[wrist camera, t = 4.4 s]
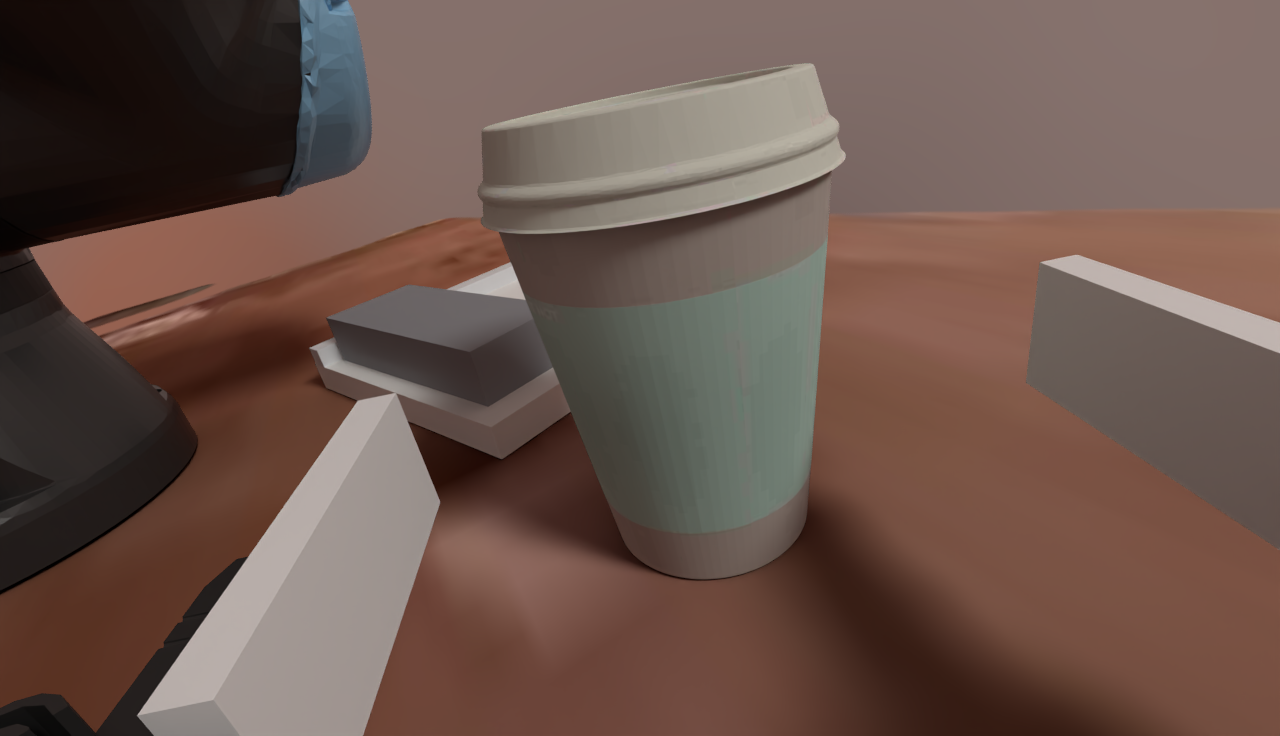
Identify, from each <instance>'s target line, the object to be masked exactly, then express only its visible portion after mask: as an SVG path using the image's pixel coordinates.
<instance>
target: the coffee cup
mask: <svg viewBox="0 0 1280 736" xmlns="http://www.w3.org/2000/svg"><path fill="white" fill-rule="evenodd" d="M838 131H839V123H838V121H837V120H836V119H834V118H833V117H832V116H830V114H829V112H828V109H827V106H826V103H825V99H824V96H823V93H822V90H821V86H820V83H819V80H818V77H817V73H816V70H815V67H814V65H813V64H809V63H807V64H796V65H789V66H782V67H775V68H769V69H763V70H757V71H751V72H745V73H740V74H733V75H727V76H722V77H716V78H711V79H705V80H700V81H694V82H689V83H684V84H678V85H673V86H668V87H663V88H658V89H652V90H648V91H642V92H638V93H632V94H627V95H623V96H618V97H612V98H608V99H603V100H598V101H593V102H588V103H584V104H579V105H574V106H570V107H565V108H560V109H556V110H552V111H547V112H543V113H538V114H534V115H529V116H525V117H521V118H517V119H513V120H508V121H505V122H501V123H497V124H494V125H490V126H488V127H486V128H484V129H482V158H483V159H482V161H483V181H482V183H481V184H480V186H479V188H478V196H479V198H480V199H481V200H482V201H483V217H482V218H481V224H482V225H483V226H484V227H486V228H488V229H490V230H494V231H498V232H499V234H500V236H501V239H502V241H503V244H504V246H505V249H506V251H507V254H508V256H509V259H510V261H511V264H512V266H513V269H514V271H515V274H516V277H517V279H518V282H519V284H520V287H521V289H522V292H523V294H524V297H525V299H526V302H527V304H528V307H529V309H530V312H531V314H532V317H533V319H534V322H535V324H536V327H537V329H538V332H539V334H540V336H541V339H542V341H543V344H544V346H545V349H546V351H547V354H548V356H549V359H550V361H551V364H552V366H553V369H554V371H555V374H556V376H557V379H558V381H559V384H560V386H561V388H562V391H563V393H564V396H565V398H566V401H567V403H568V406H569V408H570V411H571V413H572V416H573V418H574V421H575V423H576V426H577V428H578V431H579V433H580V436H581V438H582V440H583V443H584V445H585V448H586V450H587V453H588V455H589V458H590V460H591V463H592V465H593V468H594V470H595V473H596V475H597V478H598V480H599V483H600V485H601V488H602V490H603V493H604V495H605V497H606V500H607V502H608V504H609V507H610V509H611V512H612V514H613V517H614V519H615V521H616V524H617V526H618V529H619V531H620V533H621V536H622V538H623V541H624V543H625V544H626V546H627V547H628V549H629V550H630V551H631V553H632V554H633V555H634V556H635V557H636V558H638V559H639V560H640V561H642V562H643V563H644V564H646V565H648V566H649V567H651V568H653V569H655V570H658V571H660V572H663V573H666V574H669V575H672V576H677V577H683V578H690V579H717V578H726V577H732V576H736V575H740V574H744V573H747V572H749V571H752V570H755V569H757V568H760V567H762V566H764V565H766V564H768V563H769V562H771V561H773V560H774V559H776V558H777V557H779V556H780V555H781V554H783V553H784V552H785V551H786V550H787V549H788V548H789V547H790V546H791V545H792V544H793V543H794V542H795V541H796V539H797V538H798V536H799V535H800V533H801V531H802V529H803V527H804V524H805V521H806V517H807V507H808V494H809V482H810V469H811V458H812V444H813V430H814V416H815V403H816V389H817V375H818V361H819V348H820V334H821V320H822V306H823V293H824V279H825V265H826V251H827V238H828V221H829V206H830V191H831V176H832V170H833V169H834V168H836V167H837V166H839V165H840V164H841V163H842V162H843V161H844V159H845V156H846V155H845V152H844V151H843V150H841V148H840V145H839V142H838V138H837V134H838Z"/></svg>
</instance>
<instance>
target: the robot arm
mask: <svg viewBox="0 0 1280 736" xmlns="http://www.w3.org/2000/svg"><path fill="white" fill-rule="evenodd" d="M371 134H372V118H371V104H370V95H369V88H368V80H367V74H366V68H365V62H364V57H363V51H362V45H361V40H360V36H359V31H358V27H357V23H356V18H355V15H354V13H353V10H352V8H351V6H350V4H349V2H348V0H0V590H2V589H4V588H6V587H8V586H10V585H12V584H14V583H16V582H18V581H20V580H22V579H24V578H26V577H28V576H30V575H32V574H34V573H35V572H37V571H39V570H41V569H43V568H45V567H46V566H48V565H50V564H52V563H54V562H55V561H57V560H59V559H61V558H62V557H64V556H66V555H68V554H69V553H71V552H73V551H74V550H76V549H78V548H79V547H81V546H83V545H84V544H86V543H88V542H89V541H91V540H92V539H94V538H96V537H97V536H99V535H100V534H102V533H104V532H105V531H107V530H108V529H110V528H111V527H113V526H114V525H116V524H117V523H119V522H120V521H121V520H123V519H124V518H126V517H127V516H129V515H130V514H131V513H133V512H134V511H135V510H137V509H138V508H139V507H141V506H142V505H143V504H145V503H146V502H147V501H148V500H150V499H151V498H152V497H153V496H155V495H156V494H157V493H158V492H159V491H160V490H162V489H163V488H164V487H165V486H166V485H167V484H168V483H169V482H170V481H171V480H172V479H173V478H174V477H175V476H176V475H177V474H178V473H179V472H180V471H181V470H182V469H183V468H184V466H185V465H186V464H187V463H188V461H189V460H190V458H191V457H192V455H193V453H194V451H195V449H196V446H197V435H196V433H195V431H194V430H193V428H192V426H191V425H190V423H189V421H188V420H187V418H186V416H185V415H184V413H183V411H182V409H181V408H180V406H179V404H178V403H177V402H176V400H175V399H174V398H173V397H172V396H171V395H170V394H169V393H167V392H166V391H164V390H163V389H162V388H160V387H158V386H156V385H151V384H150V383H149V382H148V381H147V380H146V379H145V378H144V377H143V376H142V375H141V374H140V373H139V372H138V371H137V370H136V369H135V368H134V367H133V366H132V365H130V364H129V363H128V362H127V361H126V360H125V359H124V358H123V357H122V356H121V355H120V354H119V353H117V352H116V351H115V350H114V349H113V348H112V347H111V346H109V345H108V344H107V343H106V342H105V341H104V340H103V339H102V338H100V337H99V336H98V335H97V334H96V333H94V332H93V331H92V330H91V329H90V328H89V327H87V326H86V325H85V324H84V323H83V322H81V321H80V320H79V319H78V318H77V317H76V316H75V315H74V314H72V313H71V312H70V311H69V309H68V308H67V307H66V306H65V305H64V304H63V302H62V301H61V299H60V298H59V296H58V295H57V293H56V292H55V290H54V289H53V288H52V286H51V285H50V283H49V281H48V280H47V278H46V277H45V275H44V273H43V272H42V270H41V269H40V267H39V266H38V264H37V263H36V261H35V259H34V257H33V255H32V253H31V251H30V249H29V247H33V246H38V245H43V244H47V243H51V242H57V241H61V240H64V239H68V238H73V237H78V236H83V235H88V234H92V233H97V232H102V231H107V230H112V229H116V228H121V227H126V226H131V225H136V224H140V223H146V222H150V221H155V220H160V219H165V218H170V217H174V216H180V215H184V214H189V213H194V212H199V211H204V210H208V209H213V208H218V207H223V206H227V205H233V204H237V203H242V202H247V201H251V200H257V199H261V198H267V197H271V196H277V197H282V196H285V195H289V194H291V193H293V192H294V191H295V190H296V189H297V188H300V187H303V186H307V185H310V184H314V183H318V182H321V181H325V180H328V179H332V178H335V177H339V176H342V175H345V174H347V173H349V172H351V171H352V170H354V169H355V168H356V167H357V166H358V165H360V164H361V163H362V161H363V160H364V159H365V157H366V155H367V153H368V150H369V147H370V143H371ZM1026 383H1027V384H1029V385H1030V386H1032V387H1033V388H1035V389H1036V390H1038V391H1039V392H1041V393H1043V394H1044V395H1046V396H1047V397H1049V398H1050V399H1052V400H1053V401H1055V402H1056V403H1058V404H1059V405H1061V406H1062V407H1064V408H1065V409H1067V410H1068V411H1070V412H1071V413H1073V414H1074V415H1076V416H1077V417H1079V418H1080V419H1082V420H1083V421H1085V422H1086V423H1088V424H1090V425H1091V426H1093V427H1094V428H1096V429H1097V430H1099V431H1100V432H1102V433H1103V434H1105V435H1106V436H1108V437H1109V438H1111V439H1112V440H1114V441H1115V442H1117V443H1118V444H1120V445H1121V446H1123V447H1124V448H1126V449H1127V450H1129V451H1130V452H1132V453H1133V454H1135V455H1137V456H1138V457H1140V458H1141V459H1143V460H1144V461H1146V462H1147V463H1149V464H1150V465H1152V466H1153V467H1155V468H1156V469H1158V470H1159V471H1161V472H1162V473H1164V474H1165V475H1167V476H1168V477H1170V478H1171V479H1173V480H1174V481H1176V482H1177V483H1179V484H1180V485H1182V486H1184V487H1185V488H1187V489H1188V490H1190V491H1191V492H1193V493H1194V494H1196V495H1197V496H1199V497H1200V498H1202V499H1203V500H1205V501H1206V502H1208V503H1209V504H1211V505H1212V506H1214V507H1215V508H1217V509H1218V510H1220V511H1221V512H1223V513H1224V514H1226V515H1227V516H1229V517H1231V518H1232V519H1234V520H1235V521H1237V522H1238V523H1240V524H1241V525H1243V526H1244V527H1246V528H1247V529H1249V530H1250V531H1252V532H1253V533H1255V534H1256V535H1258V536H1259V537H1261V538H1262V539H1264V540H1265V541H1267V542H1268V543H1270V544H1271V545H1273V546H1274V547H1276V548H1278V549H1279V550H1280V323H1279V322H1276V321H1273V320H1270V319H1267V318H1264V317H1261V316H1258V315H1255V314H1252V313H1249V312H1246V311H1243V310H1240V309H1237V308H1234V307H1231V306H1228V305H1225V304H1222V303H1219V302H1216V301H1213V300H1210V299H1207V298H1204V297H1201V296H1198V295H1195V294H1192V293H1189V292H1186V291H1183V290H1180V289H1177V288H1174V287H1171V286H1168V285H1165V284H1163V283H1160V282H1157V281H1154V280H1151V279H1148V278H1145V277H1142V276H1139V275H1136V274H1133V273H1130V272H1127V271H1124V270H1121V269H1118V268H1115V267H1112V266H1109V265H1106V264H1103V263H1100V262H1097V261H1094V260H1091V259H1088V258H1085V257H1082V256H1079V255H1073V256H1068V257H1064V258H1059V259H1054V260H1049V261H1044V262H1040V265H1039V273H1038V282H1037V291H1036V299H1035V308H1034V317H1033V325H1032V334H1031V343H1030V352H1029V360H1028V369H1027V378H1026ZM439 505H440V500H439V498H438V495H437V493H436V490H435V488H434V485H433V483H432V480H431V478H430V476H429V473H428V471H427V468H426V466H425V463H424V461H423V458H422V456H421V453H420V451H419V448H418V446H417V443H416V441H415V439H414V436H413V434H412V431H411V429H410V426H409V424H408V421H407V419H406V416H405V414H404V411H403V409H402V406H401V404H400V401H399V399H398V397H397V394H396V393H393V394H388V395H383V396H378V397H373V398H369V399H364V400H359V401H357V403H356V404H355V406H354V407H353V409H352V410H351V411H350V413H349V414H348V416H347V417H346V419H345V420H344V421H343V423H342V424H341V426H340V427H339V429H338V430H337V431H336V433H335V434H334V436H333V437H332V439H331V440H330V441H329V443H328V444H327V446H326V447H325V449H324V450H323V451H322V453H321V454H320V456H319V457H318V458H317V460H316V461H315V463H314V464H313V466H312V467H311V468H310V470H309V471H308V473H307V474H306V476H305V477H304V478H303V480H302V481H301V483H300V484H299V486H298V487H297V488H296V490H295V491H294V493H293V494H292V496H291V497H290V498H289V500H288V501H287V503H286V504H285V506H284V507H283V508H282V510H281V511H280V513H279V514H278V515H277V517H276V518H275V520H274V521H273V523H272V524H271V525H270V527H269V528H268V530H267V531H266V533H265V534H264V535H263V537H262V538H261V540H260V541H259V543H258V544H257V545H256V547H255V548H254V550H253V551H252V553H251V554H250V555H249V557H245V558H240V559H236V560H235V561H234V562H233V563H232V564H231V565H230V566H228V567H227V568H226V569H225V570H224V571H223V572H221V573H220V574H219V575H218V576H217V577H216V578H215V579H213V580H212V581H211V582H210V583H209V584H208V585H207V586H205V587H204V589H203V590H202V591H201V593H200V594H199V595H198V597H197V598H196V599H195V601H194V602H193V603H192V605H191V606H190V608H189V609H188V610H187V612H186V613H185V614H184V616H183V622H181V623H178V624H177V625H176V626H175V628H174V629H173V630H172V632H171V633H170V634H169V636H168V637H167V638H166V640H165V641H164V642H163V643H164V647H163V648H161V649H158V650H157V652H156V653H155V654H154V656H153V657H152V658H151V660H150V661H149V662H148V664H147V665H146V666H145V668H144V669H143V670H142V672H141V673H140V674H139V676H138V677H137V678H136V680H135V681H134V682H133V684H132V685H131V687H130V688H129V689H128V691H127V692H126V693H125V695H124V696H123V697H122V699H121V700H120V701H119V703H118V704H117V705H116V707H115V708H114V709H113V711H112V712H111V713H110V715H109V716H108V717H107V719H106V720H105V721H104V723H103V724H102V725H101V727H100V728H99V729H98V731H97V732H96V733H95V732H94V731H93V730H92V729H91V728H90V726H89V725H88V724H87V723H86V722H85V721H84V720H83V719H82V718H81V717H80V715H79V714H78V713H77V712H76V711H75V710H74V709H73V708H72V707H71V706H70V704H69V703H68V702H67V701H66V700H65V699H64V698H63V697H62V696H61V695H56V694H38V695H35V696H31V697H28V698H24V699H21V700H17V701H14V702H12V703H10V704H8V705H6V706H4V707H2V708H0V736H363V734H364V731H365V728H366V725H367V722H368V719H369V716H370V713H371V710H372V707H373V704H374V701H375V698H376V695H377V692H378V689H379V686H380V683H381V680H382V677H383V674H384V671H385V668H386V665H387V662H388V659H389V656H390V653H391V650H392V647H393V644H394V641H395V638H396V634H397V631H398V628H399V625H400V622H401V619H402V616H403V613H404V610H405V607H406V604H407V601H408V598H409V595H410V592H411V589H412V586H413V583H414V580H415V577H416V574H417V571H418V568H419V565H420V562H421V559H422V556H423V553H424V550H425V547H426V544H427V541H428V538H429V535H430V532H431V529H432V526H433V523H434V520H435V517H436V514H437V511H438V508H439Z"/></svg>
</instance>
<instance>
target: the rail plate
mask: <svg viewBox="0 0 1280 736" xmlns="http://www.w3.org/2000/svg"><path fill="white" fill-rule="evenodd" d="M326 319H327V321H328V323H329V326H330V328H331V330H332V333H333V335H334V338H332V339H329V340H327V341H325V342H322V343H320V344H317V345H315V346H313V347H310V348H309V349H310V351H311V353H312V356H313V358H314V360H315V362H316V364H315V365H316V367H317V369H318V371H319V374H320V376H321V378H322V380H323V382H324V384H325V387H326V388H328V389H330V390H333V391H335V392H338V393H340V394H343V395H345V396H347V397H350V398H352V399H355V400H357V401H359V400H364V399H369V398H373V397H378V396H383V395H388V394H393V393H396V394H397V397H398V399H399V401H400V404H401V406H402V409H403V411H404V414H405V416H406V419H407V421H409V422H411V423H414V424H416V425H419V426H421V427H424V428H426V429H429V430H431V431H433V432H436V433H438V434H441V435H443V436H446V437H448V438H451V439H453V440H456V441H458V442H460V443H463V444H465V445H468V446H470V447H473V448H475V449H478V450H480V451H483V452H485V453H487V454H490V455H492V456H495V457H497V458H500V459H503V458H505V457H506V456H508V455H509V454H510V453H512V452H513V451H515V450H516V449H518V448H519V447H520V446H522V445H523V444H525V443H526V442H528V441H529V440H531V439H532V438H533V437H535V436H536V435H538V434H539V433H541V432H542V431H544V430H545V429H546V428H548V427H549V426H551V425H552V424H554V423H555V422H556V421H558V420H559V419H561V418H562V417H564V416H565V415H567V414H568V413H569V412H571V411H570V408H569V406H568V403H567V401H566V398H565V396H564V393H563V391H562V388H561V386H560V384H559V381H558V379H557V376H556V374H555V371H554V369H553V366H552V364H551V361H550V359H549V356H548V354H547V351H546V349H545V346H544V344H543V341H542V339H541V336H540V334H539V332H538V329H537V327H536V324H535V322H534V319H533V317H532V314H531V312H530V309H529V307H528V304H527V302H526V299H525V297H524V294H523V292H522V289H521V287H520V284H519V282H518V279H517V277H516V274H515V271H514V269H513V266H512V264H511V262H510V263H508V264H505V265H503V266H501V267H498V268H496V269H494V270H491V271H489V272H486V273H484V274H482V275H479V276H477V277H475V278H472V279H470V280H468V281H465V282H463V283H461V284H458V285H456V286H454V287H451V288H449V289H447V290H446V289H438V288H431V287H423V286H415V285H407V286H404V287H402V288H399V289H397V290H394V291H392V292H389V293H387V294H384V295H382V296H379V297H377V298H374V299H372V300H369V301H367V302H364V303H362V304H359V305H357V306H354V307H352V308H349V309H347V310H344V311H342V312H339V313H337V314H334V315H332V316H329V317H327V318H326Z"/></svg>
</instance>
